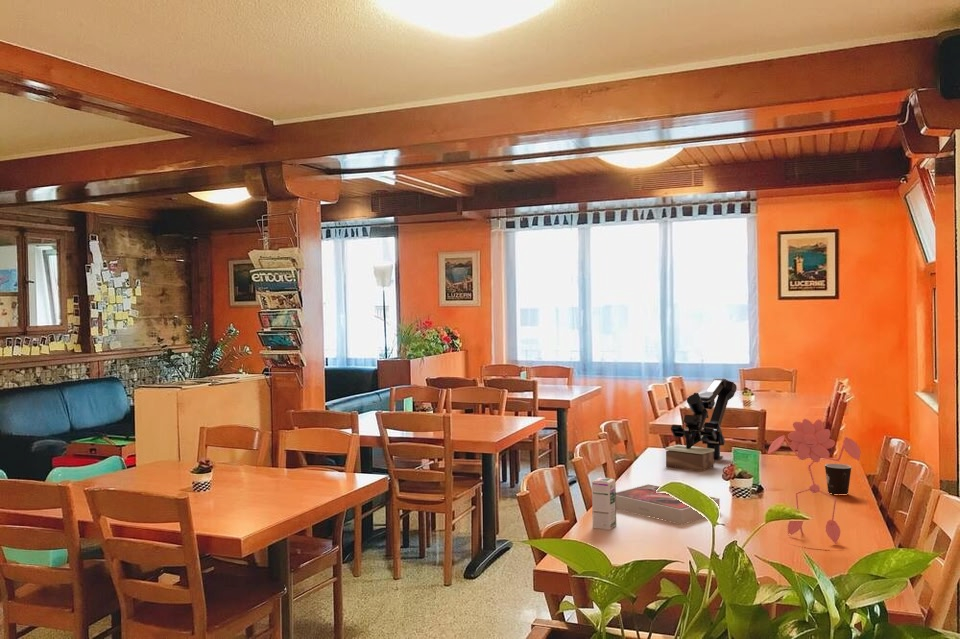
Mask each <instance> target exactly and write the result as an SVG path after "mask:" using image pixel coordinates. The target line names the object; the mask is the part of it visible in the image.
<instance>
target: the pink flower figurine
mask: <svg viewBox="0 0 960 639" xmlns="http://www.w3.org/2000/svg"><path fill="white" fill-rule="evenodd" d="M792 427H793V428H794V430H793V431H791V432H789V433H788V434H787V438H788V439H789V440H791V442H790V441H788V439H787V438H786V435H784V434H783V435H781V436H779V437H777V438H776V439H775V440H774V441H772V443H771V444H770V446H769V447H768V451H767V454H768V455H771V454H773V453H775V452H776V451H778V450H779V449H780V448H781V447H782V445H783V444H784V442H786V443H787V445H788V446H789V447H790V448H789V449H790V450H792V452H793V453H794V454H795V456H796V457H797V458H798V459H799V460H801V461H805V460H807V459H810V460H812V461H811V462H810V463H809V464H808V465H807V469H808V471H809V474H810V477H811V481H812V483H811V484H809V488H808V489H804V490H800V491H797V492H796V493H795V500H796V510H797V509H798V510H799V500H798V499H799V498H798V494H801V493H804V492H805V493H806V492H808V491H810V492H811V493H812V494H817V493H822V494H823V495H825V496H827V497H829V498H831V499H833V501H834V502H833V508H832V509H833V510H832V516H831V519H829V520H828V521H826V524H825V532H826V534H827V537H828V538H829V539H830V540H831V541H832V542H833V543H834V544H836V543H838V541H839V539H840V536H841V529H840V526H839V525H838V523H837V521H835V520H834V519H835V518H834V517H835V510H836V503H837V499H836V497H834V496H833V495H831V494H829V493H826V492H824V491H822V490H820V486H819V484H817V483H815V480H814V479H815V478H814V476H813V471H812V469H811V466H813V464H814V463H819V462H820V461H821V458H822V459H826V460H829V461H836V462H840V461H841V458H842V455H843V453H844V451H845V452H846V453H847V454H848V455H849V456H850V457H851V458H853V459H855V460H857V461H860V458H861V448H860V445H859V444H858V443H857V442H856V441H855V440H854V439H852V438H850V437H847V436H845V437H844V440H843V441H842V443H843V444H842V445H841V450H840V452H839V456H838V458H832V457H830V451H829V449H832V448H833V447H835V445H836V441H835V440H834V439H833V438H832V439H831V438H830V436H831V430H830V429H829V428H825V426H824V423H823V421H822V419H817V420H815V421H814V422H812V421H811V420H809V419H808V418H807V419H806V418H803V419H802V422H801V421H794V422H793V423H792ZM803 524H804V520H803V521H790V520H789V521H788V524H787V533H788V534H791V535H790V536H792V535H794V534H796V533H797V532H799V531H800V534H804V531H803ZM788 534H787V535H788ZM803 547H804V546H803ZM803 549H807V550H808V549H810V550H813V548H811V547H807V546H806V547H804V548H803ZM815 550H817V551H818V550H819V551H822V549H820V548H819V549H818V548H815ZM824 551H825V552H829V549H824Z"/></svg>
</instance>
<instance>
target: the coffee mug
mask: <svg viewBox="0 0 960 639" xmlns="http://www.w3.org/2000/svg"><path fill="white" fill-rule="evenodd" d="M824 468H825V478H826V479H825V480H826V485H827V492H829V493H832V494H847V493H848V494H849V489H850V482H851V481H850V480H851V473H852V466H851V465H848V464H842V463H826V464H824ZM829 493H828V494H829Z"/></svg>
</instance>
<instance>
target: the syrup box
mask: <svg viewBox="0 0 960 639" xmlns="http://www.w3.org/2000/svg"><path fill="white" fill-rule="evenodd" d="M616 486H617V484H616V479H615V478H611V477H597V478H595V480H592V481H591V503H592V504H591V507H592V528H594V529H598V530H606V531H611V530H612V529H613V528H615V527H616V526H617V509H616V492H617V491H616V490H617V489H616Z"/></svg>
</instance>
